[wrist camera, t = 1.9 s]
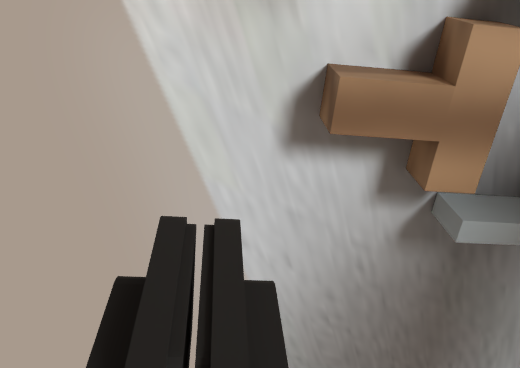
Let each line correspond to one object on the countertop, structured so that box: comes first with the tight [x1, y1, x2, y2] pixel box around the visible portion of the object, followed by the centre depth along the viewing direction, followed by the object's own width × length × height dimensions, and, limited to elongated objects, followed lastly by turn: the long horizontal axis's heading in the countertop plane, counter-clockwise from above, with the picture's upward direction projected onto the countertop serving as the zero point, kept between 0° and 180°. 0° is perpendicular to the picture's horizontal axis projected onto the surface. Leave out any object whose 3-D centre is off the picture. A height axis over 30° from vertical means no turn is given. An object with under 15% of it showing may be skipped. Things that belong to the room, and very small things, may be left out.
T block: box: [319, 17, 520, 194], centre depth 25 cm, size 9×9×3 cm
